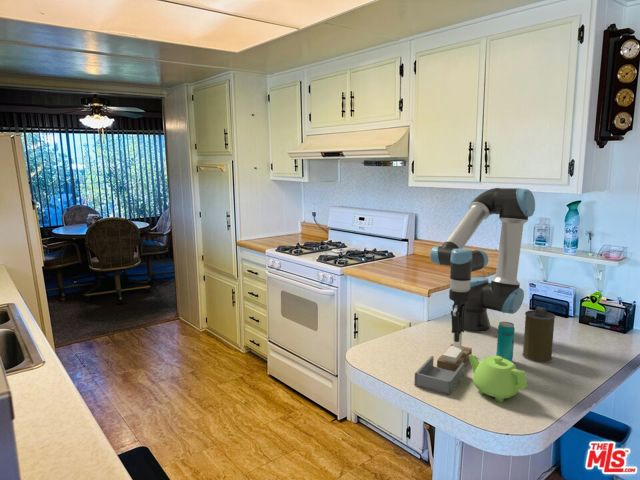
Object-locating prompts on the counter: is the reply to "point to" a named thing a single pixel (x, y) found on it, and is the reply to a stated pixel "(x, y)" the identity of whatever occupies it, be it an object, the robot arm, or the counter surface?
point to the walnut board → (454, 366)
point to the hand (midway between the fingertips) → (457, 348)
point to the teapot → (497, 377)
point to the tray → (438, 377)
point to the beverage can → (505, 340)
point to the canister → (538, 335)
